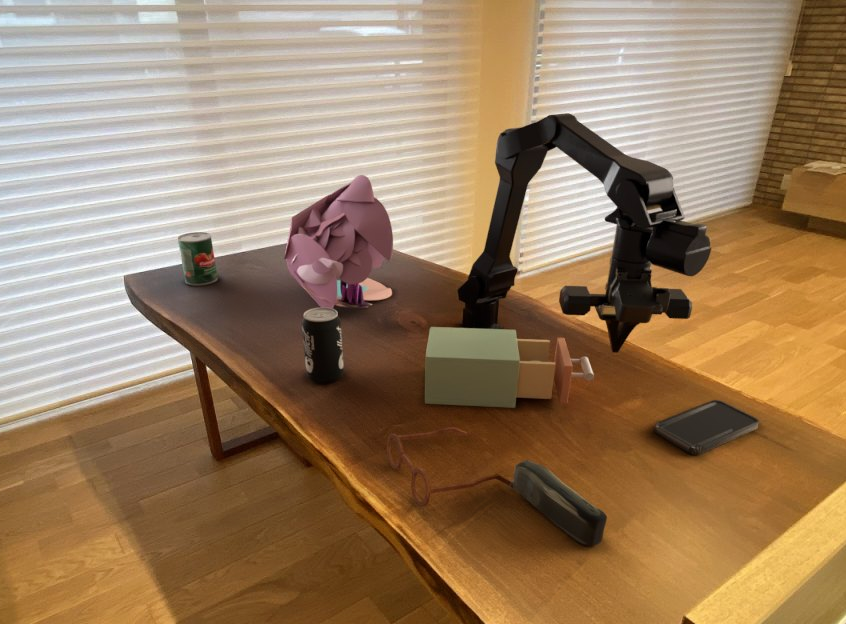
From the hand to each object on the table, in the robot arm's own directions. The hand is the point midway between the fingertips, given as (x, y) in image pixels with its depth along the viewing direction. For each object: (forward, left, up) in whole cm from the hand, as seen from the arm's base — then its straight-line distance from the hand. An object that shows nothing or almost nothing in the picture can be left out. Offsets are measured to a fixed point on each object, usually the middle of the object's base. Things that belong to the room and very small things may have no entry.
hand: (614, 351), depth 99 cm
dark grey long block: (+28, +18, -8) cm, 34 cm away
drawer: (+10, -7, -7) cm, 14 cm away
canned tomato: (+47, -91, -8) cm, 103 cm away
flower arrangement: (+19, -64, -8) cm, 67 cm away
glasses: (+35, +5, -8) cm, 36 cm away
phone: (-5, +15, -8) cm, 18 cm away
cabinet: (+19, -13, -8) cm, 24 cm away
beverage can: (+39, -29, -8) cm, 49 cm away
